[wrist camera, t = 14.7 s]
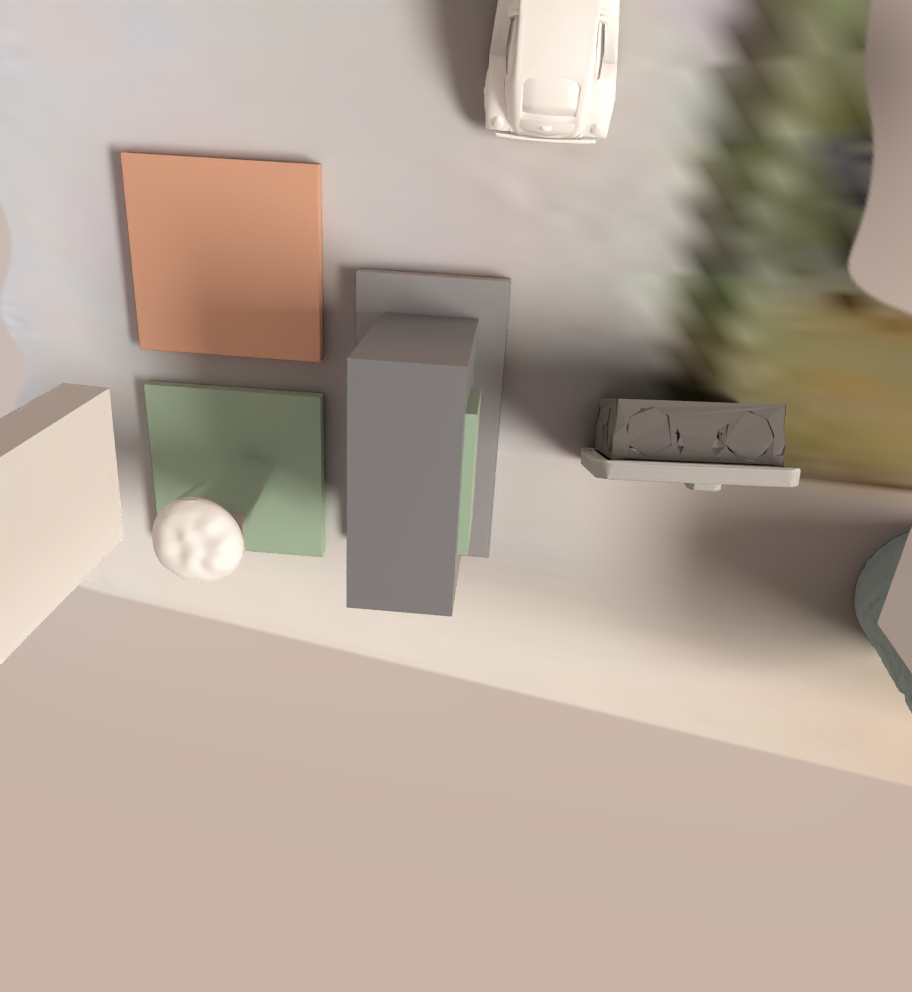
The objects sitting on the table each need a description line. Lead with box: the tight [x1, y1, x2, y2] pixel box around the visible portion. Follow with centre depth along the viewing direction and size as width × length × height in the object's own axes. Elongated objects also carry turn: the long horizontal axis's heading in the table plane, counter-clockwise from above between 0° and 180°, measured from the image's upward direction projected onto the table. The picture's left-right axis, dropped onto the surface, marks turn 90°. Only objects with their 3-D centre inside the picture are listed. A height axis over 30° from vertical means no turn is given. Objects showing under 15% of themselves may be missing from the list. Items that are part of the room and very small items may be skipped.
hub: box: [347, 269, 511, 616], centre depth 41 cm, size 16×8×11 cm, turn 177°
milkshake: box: [152, 454, 274, 582], centre depth 43 cm, size 4×5×10 cm
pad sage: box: [144, 381, 325, 557], centre depth 48 cm, size 10×10×1 cm
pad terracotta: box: [120, 152, 323, 362], centre depth 43 cm, size 10×10×1 cm
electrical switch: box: [581, 398, 801, 491], centre depth 41 cm, size 9×5×9 cm, turn 89°
